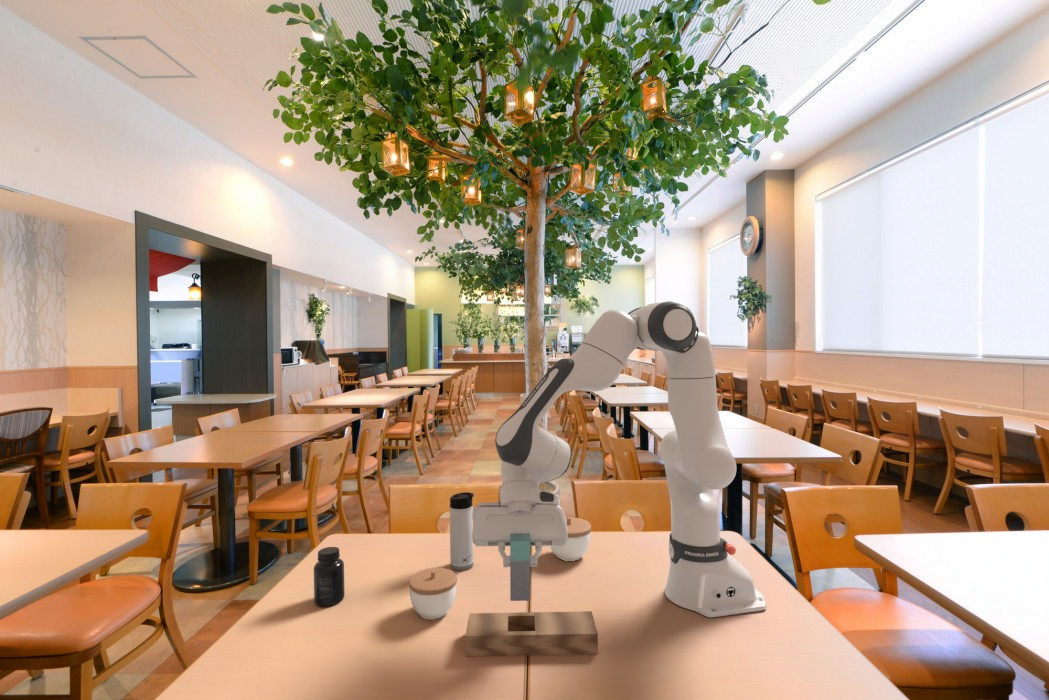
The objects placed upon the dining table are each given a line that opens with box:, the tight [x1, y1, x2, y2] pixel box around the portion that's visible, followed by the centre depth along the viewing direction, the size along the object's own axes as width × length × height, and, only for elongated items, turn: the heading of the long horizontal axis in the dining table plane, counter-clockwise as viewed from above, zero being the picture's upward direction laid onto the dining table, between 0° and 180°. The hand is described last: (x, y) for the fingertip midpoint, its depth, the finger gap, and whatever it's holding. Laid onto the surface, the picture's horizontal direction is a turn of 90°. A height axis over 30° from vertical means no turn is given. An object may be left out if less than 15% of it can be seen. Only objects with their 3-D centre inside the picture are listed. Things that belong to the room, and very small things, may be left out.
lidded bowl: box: [549, 516, 592, 562], centre depth 140 cm, size 13×13×11 cm
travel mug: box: [449, 491, 475, 572], centre depth 134 cm, size 6×7×20 cm
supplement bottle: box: [313, 546, 346, 608], centre depth 117 cm, size 7×7×12 cm
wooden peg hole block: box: [464, 610, 599, 657], centre depth 100 cm, size 26×8×4 cm, turn 91°
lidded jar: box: [408, 567, 458, 621], centre depth 111 cm, size 11×11×9 cm
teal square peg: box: [509, 533, 531, 602], centre depth 99 cm, size 4×4×12 cm
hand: (520, 566), depth 99 cm, fingers closed on teal square peg, 4 cm apart
